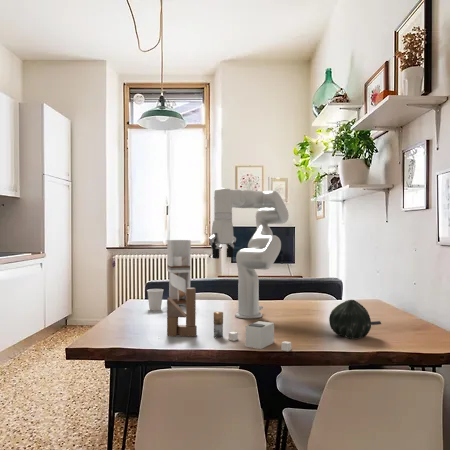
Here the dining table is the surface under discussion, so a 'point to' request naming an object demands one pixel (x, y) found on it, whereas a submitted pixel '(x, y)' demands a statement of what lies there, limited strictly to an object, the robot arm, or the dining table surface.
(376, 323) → the bracket
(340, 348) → the dining table surface
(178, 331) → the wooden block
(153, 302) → the dixie cup
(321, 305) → the dining table surface
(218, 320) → the peg
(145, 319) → the dining table surface
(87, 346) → the dining table surface
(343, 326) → the squash
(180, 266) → the display case
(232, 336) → the rounded white cube
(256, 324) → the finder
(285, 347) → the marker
